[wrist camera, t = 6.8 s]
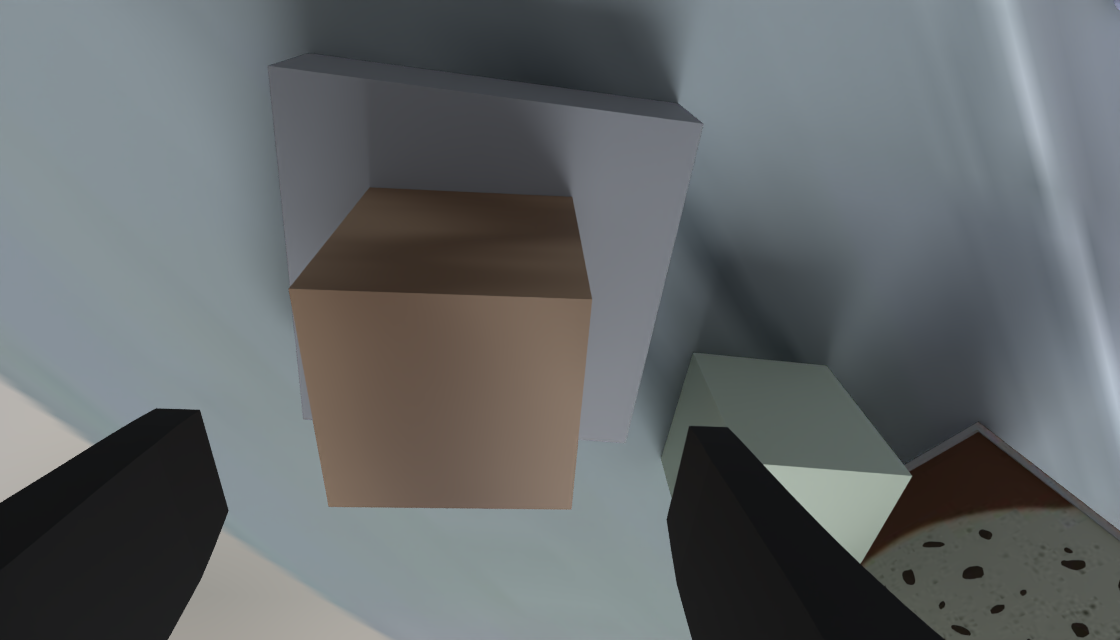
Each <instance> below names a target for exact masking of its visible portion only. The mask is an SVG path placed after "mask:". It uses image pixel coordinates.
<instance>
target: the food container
mask: <svg viewBox="0 0 1120 640" xmlns="http://www.w3.org/2000/svg"><path fill="white" fill-rule="evenodd" d="M904 466H905V467H906V468H907V470H908V471H909V472H910V474H911V475H912V477H911V479H910V481H909V482H908V484H907V486H906V488H905V489H904V491H903V493H902V494H901V496H900V498H899V499H898V501H897V503H896V505H895V506H894V508H893V510H892V511H891V513H890V515H889V516H888V518H887V520H886V522H885V523H884V525H883V527H882V528H881V530H880V532H879V533H878V535H877V537H876V539H875V540H874V542H873V544H872V545H871V547H870V549H869V550H868V552H867V554H866V556H865V557H864V559H863V561H862V562H861V565H862V566H863V567H864V568H865V569H866V570H868V571H869V572H870V573H871V574H872V575H873V576H874V577H875V578H876V579H877V580H878V581H879V582H881V583H882V584H883V585H884V586H885V587H886V588H887V589H888V590H889V591H890V592H891V593H892V594H894V595H895V596H896V597H897V598H898V599H899V600H900V601H901V602H902V603H903V604H904V605H906V606H907V607H908V608H909V609H910V610H911V611H912V612H913V613H915V614H916V615H917V616H918V617H919V618H920V619H921V620H923V621H924V622H925V623H926V624H927V625H928V626H930V627H931V628H932V629H933V630H934V631H935V632H937V633H938V634H939V635H940V636H941V637H943V638H944V639H945V640H1120V531H1119V530H1118V529H1117V528H1116V527H1114V526H1113V525H1112V524H1110V523H1109V522H1108V521H1106V520H1105V519H1104V518H1103V517H1101V516H1100V515H1099V514H1097V513H1096V512H1095V511H1094V510H1092V509H1091V508H1090V507H1088V506H1087V505H1086V504H1084V503H1083V502H1082V501H1081V500H1079V499H1078V498H1077V497H1075V496H1074V495H1073V494H1071V493H1070V492H1069V491H1068V490H1066V489H1065V488H1064V487H1062V486H1061V485H1060V484H1059V483H1057V482H1056V481H1055V480H1053V479H1052V478H1051V477H1049V476H1048V475H1047V474H1046V473H1044V472H1043V471H1042V470H1040V469H1039V468H1038V467H1036V466H1035V465H1034V464H1033V463H1031V462H1030V461H1029V460H1027V459H1026V458H1025V457H1024V456H1022V455H1021V454H1020V453H1018V452H1017V451H1016V450H1014V449H1013V448H1012V447H1011V446H1009V445H1008V444H1007V443H1005V442H1004V441H1003V440H1001V439H1000V438H999V437H998V436H996V435H995V434H994V433H992V432H991V431H990V430H989V429H987V428H986V427H985V426H983V425H982V424H981V423H979V422H977V423H975V424H974V425H972V426H970V427H968V428H967V429H965V430H963V431H962V432H960V433H958V434H956V435H955V436H953V437H951V438H950V439H948V440H946V441H944V442H943V443H941V444H939V445H938V446H936V447H934V448H932V449H931V450H929V451H927V452H926V453H924V454H922V455H920V456H919V457H917V458H915V459H914V460H912V461H910V462H908V463H907V464H905V465H904Z"/></svg>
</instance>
